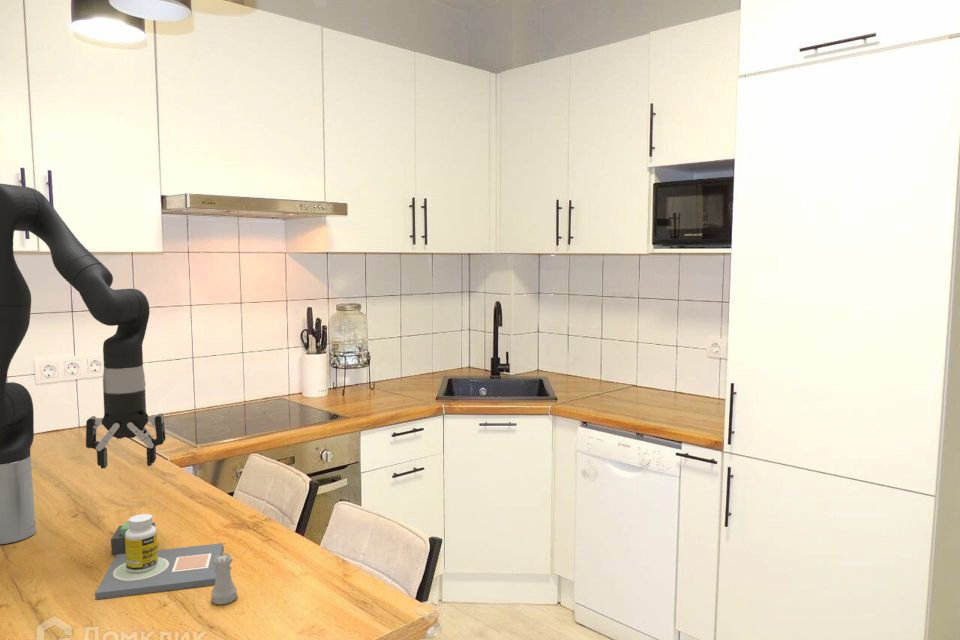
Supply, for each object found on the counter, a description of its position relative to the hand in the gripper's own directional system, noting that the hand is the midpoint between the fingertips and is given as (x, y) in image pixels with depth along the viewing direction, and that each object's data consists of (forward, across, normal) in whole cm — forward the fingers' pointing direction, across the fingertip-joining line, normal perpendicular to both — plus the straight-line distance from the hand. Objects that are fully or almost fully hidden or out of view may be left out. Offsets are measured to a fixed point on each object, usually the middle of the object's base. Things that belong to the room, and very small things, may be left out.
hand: (127, 466), depth 140 cm
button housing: (+18, 0, +1) cm, 18 cm away
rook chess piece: (+18, +21, -26) cm, 38 cm away
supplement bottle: (+16, +5, -12) cm, 21 cm away
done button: (+15, 0, +1) cm, 15 cm away
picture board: (+18, +9, -12) cm, 23 cm away
